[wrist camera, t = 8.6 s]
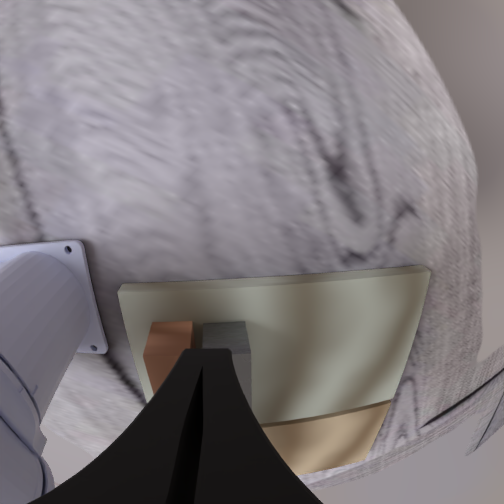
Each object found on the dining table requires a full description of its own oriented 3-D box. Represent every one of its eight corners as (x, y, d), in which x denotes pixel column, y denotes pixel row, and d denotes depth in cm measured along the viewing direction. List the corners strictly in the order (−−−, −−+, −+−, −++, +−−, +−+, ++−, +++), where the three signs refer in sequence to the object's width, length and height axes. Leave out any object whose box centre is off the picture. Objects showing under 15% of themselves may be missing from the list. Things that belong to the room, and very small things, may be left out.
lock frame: (180, 475, 25) (179, 508, 21) (122, 283, 17) (100, 322, 13) (361, 452, 27) (374, 480, 23) (421, 264, 19) (459, 291, 15)
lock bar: (253, 454, 22) (257, 482, 19) (216, 457, 22) (218, 484, 19) (252, 320, 17) (259, 352, 14) (196, 323, 17) (193, 356, 14)
